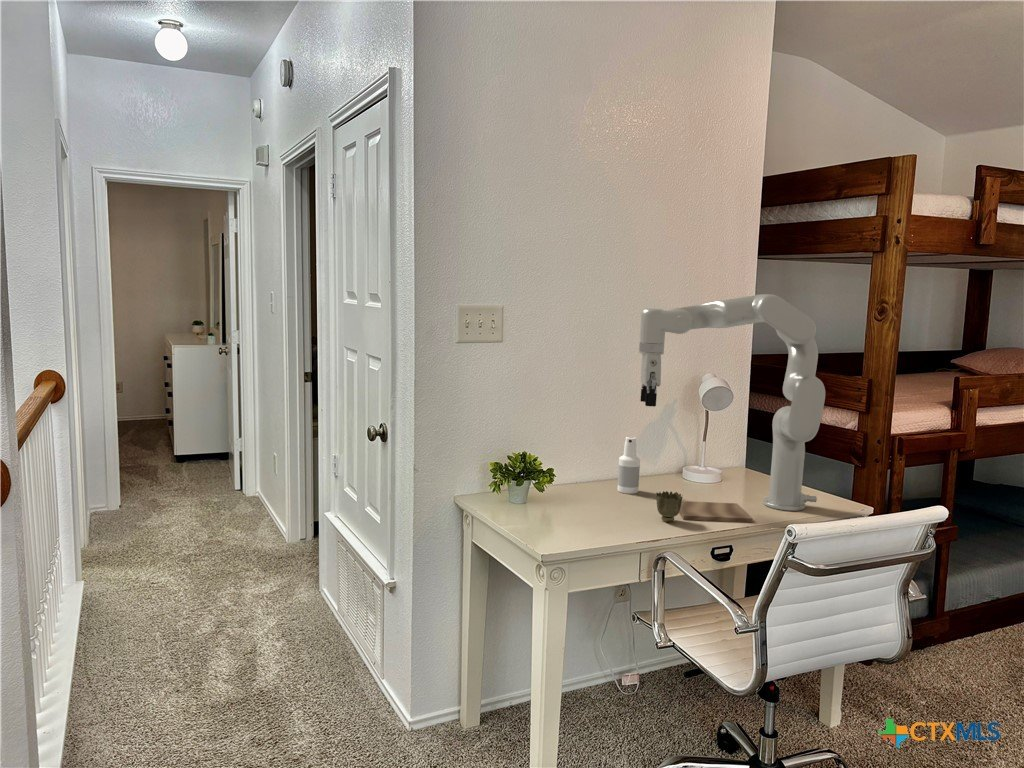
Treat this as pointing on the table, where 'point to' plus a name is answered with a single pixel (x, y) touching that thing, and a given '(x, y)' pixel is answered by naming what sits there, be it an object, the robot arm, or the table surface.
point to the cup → (668, 505)
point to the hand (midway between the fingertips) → (647, 403)
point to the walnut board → (713, 512)
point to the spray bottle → (629, 468)
